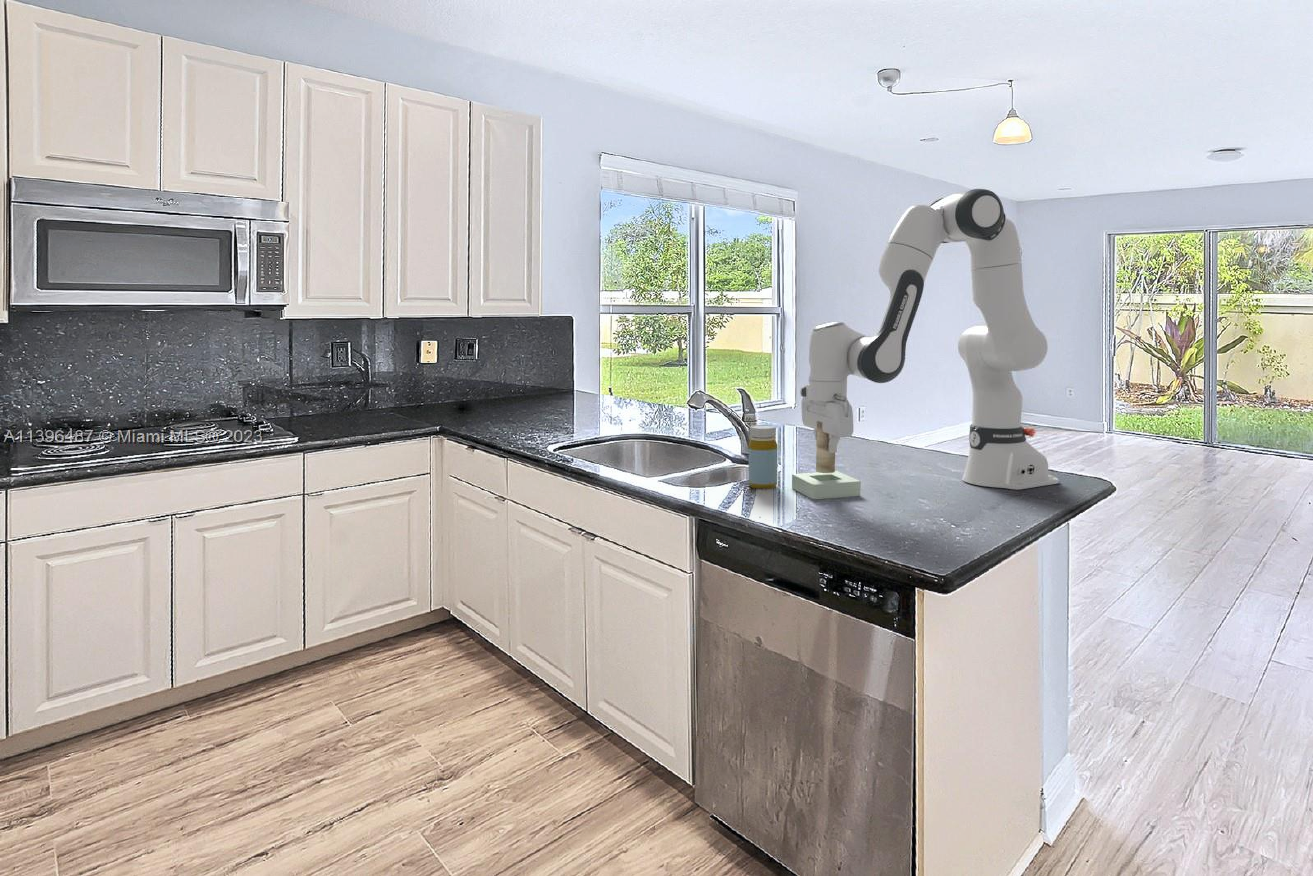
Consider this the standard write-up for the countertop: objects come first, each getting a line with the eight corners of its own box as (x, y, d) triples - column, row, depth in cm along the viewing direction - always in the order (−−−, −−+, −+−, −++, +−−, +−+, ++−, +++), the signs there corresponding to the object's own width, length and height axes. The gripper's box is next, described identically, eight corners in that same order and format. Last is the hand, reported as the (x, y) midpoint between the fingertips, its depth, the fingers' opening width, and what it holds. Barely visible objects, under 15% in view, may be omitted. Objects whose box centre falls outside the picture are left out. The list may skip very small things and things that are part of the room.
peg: (829, 468, 188) (830, 419, 186) (838, 472, 184) (839, 422, 182) (812, 469, 187) (813, 420, 185) (821, 473, 183) (822, 423, 181)
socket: (836, 484, 194) (836, 470, 193) (860, 495, 182) (860, 481, 182) (791, 488, 191) (792, 474, 190) (813, 499, 179) (813, 484, 179)
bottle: (758, 482, 198) (758, 423, 196) (782, 485, 194) (782, 426, 191) (743, 487, 193) (743, 427, 190) (767, 491, 188) (768, 429, 186)
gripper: (861, 396, 173) (859, 457, 176) (820, 387, 193) (819, 442, 195) (835, 397, 172) (834, 459, 174) (797, 388, 191) (796, 443, 194)
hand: (826, 450), depth 185 cm, fingers closed on peg, 4 cm apart
